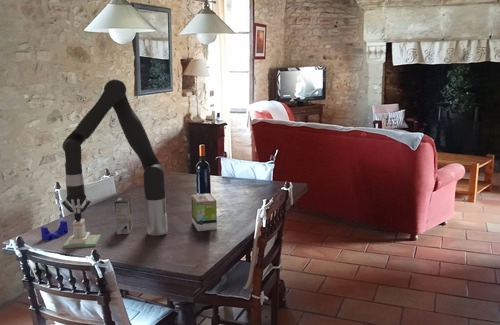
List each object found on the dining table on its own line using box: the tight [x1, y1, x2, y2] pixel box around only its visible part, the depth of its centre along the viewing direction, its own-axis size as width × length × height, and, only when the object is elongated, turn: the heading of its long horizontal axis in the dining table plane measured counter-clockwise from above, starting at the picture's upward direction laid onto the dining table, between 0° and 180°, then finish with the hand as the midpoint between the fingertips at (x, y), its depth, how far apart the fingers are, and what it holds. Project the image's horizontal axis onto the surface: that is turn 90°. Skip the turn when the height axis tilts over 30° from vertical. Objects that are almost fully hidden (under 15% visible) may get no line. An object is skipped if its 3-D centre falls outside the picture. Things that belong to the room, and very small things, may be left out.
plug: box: [72, 218, 87, 239], centre depth 221 cm, size 4×6×9 cm
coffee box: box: [114, 196, 133, 235], centre depth 235 cm, size 9×6×16 cm
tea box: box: [190, 192, 218, 232], centre depth 241 cm, size 15×10×15 cm, turn 17°
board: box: [62, 231, 102, 249], centre depth 222 cm, size 14×12×3 cm
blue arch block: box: [40, 220, 69, 242], centre depth 230 cm, size 12×4×6 cm, turn 147°
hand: (78, 220), depth 220 cm, fingers closed
